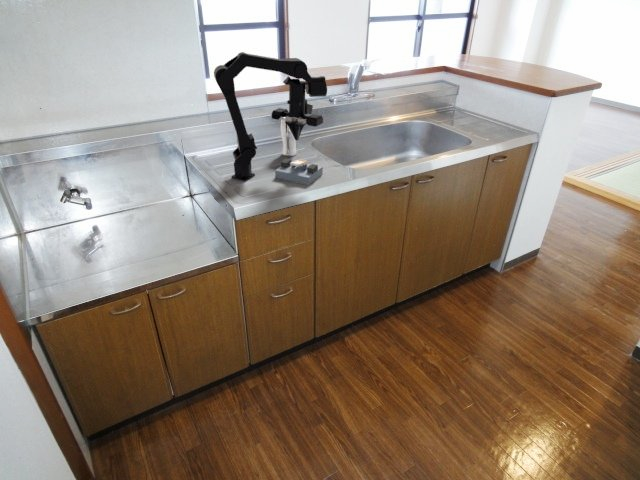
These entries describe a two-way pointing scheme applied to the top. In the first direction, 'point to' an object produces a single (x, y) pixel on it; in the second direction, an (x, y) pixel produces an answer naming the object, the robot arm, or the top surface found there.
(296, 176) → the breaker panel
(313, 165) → the plug right
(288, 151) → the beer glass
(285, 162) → the plug left
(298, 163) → the breaker paddle
